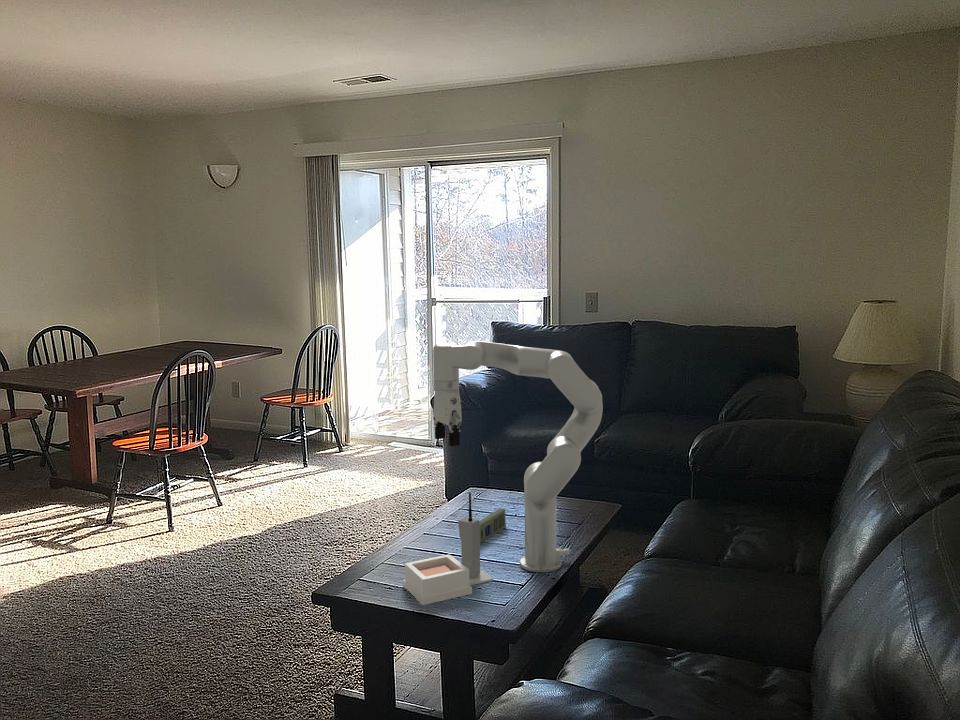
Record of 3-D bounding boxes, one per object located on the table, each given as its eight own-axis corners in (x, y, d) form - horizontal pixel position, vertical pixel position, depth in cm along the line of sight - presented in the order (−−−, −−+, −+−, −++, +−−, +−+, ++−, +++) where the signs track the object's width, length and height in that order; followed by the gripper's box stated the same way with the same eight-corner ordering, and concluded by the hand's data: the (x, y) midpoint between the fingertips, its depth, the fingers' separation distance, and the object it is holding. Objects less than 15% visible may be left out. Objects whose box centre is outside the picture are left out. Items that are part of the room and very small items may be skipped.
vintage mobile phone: (466, 571, 238) (465, 489, 235) (480, 574, 236) (479, 492, 232) (459, 575, 235) (457, 492, 232) (473, 579, 232) (471, 495, 229)
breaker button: (444, 575, 231) (444, 565, 231) (455, 583, 225) (454, 573, 225) (418, 580, 228) (418, 570, 227) (428, 589, 222) (428, 579, 221)
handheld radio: (507, 527, 278) (472, 551, 256) (499, 526, 279) (463, 550, 258) (506, 508, 277) (471, 531, 255) (498, 507, 279) (462, 529, 257)
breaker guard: (450, 576, 236) (449, 553, 235) (471, 593, 224) (471, 569, 223) (403, 586, 230) (402, 563, 229) (422, 605, 217) (421, 580, 216)
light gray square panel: (477, 568, 242) (477, 566, 242) (493, 580, 233) (493, 578, 233) (447, 575, 237) (447, 573, 237) (462, 587, 228) (462, 585, 228)
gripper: (471, 388, 231) (471, 446, 234) (444, 380, 246) (445, 434, 249) (447, 391, 228) (448, 449, 230) (422, 382, 243) (423, 437, 245)
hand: (447, 442), depth 239 cm, fingers open, 9 cm apart
